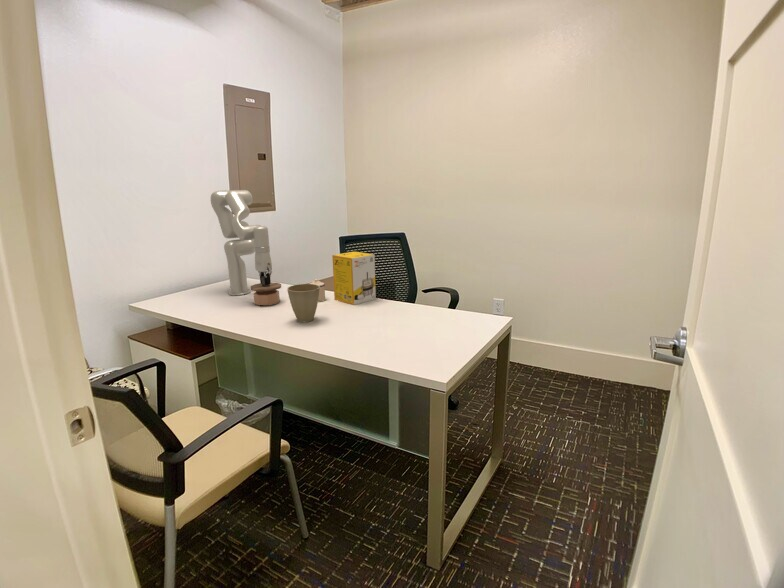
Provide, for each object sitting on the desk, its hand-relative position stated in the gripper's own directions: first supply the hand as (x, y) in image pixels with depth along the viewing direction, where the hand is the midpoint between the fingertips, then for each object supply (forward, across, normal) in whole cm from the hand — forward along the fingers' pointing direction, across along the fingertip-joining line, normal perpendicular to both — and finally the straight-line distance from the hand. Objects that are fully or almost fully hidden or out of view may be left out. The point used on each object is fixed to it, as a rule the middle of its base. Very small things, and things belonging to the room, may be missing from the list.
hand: (265, 283), depth 236 cm
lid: (+2, 0, 0) cm, 2 cm away
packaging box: (+11, +30, +37) cm, 49 cm away
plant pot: (+12, +41, -3) cm, 42 cm away
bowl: (+11, 0, 0) cm, 11 cm away
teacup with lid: (+11, +14, +22) cm, 28 cm away
